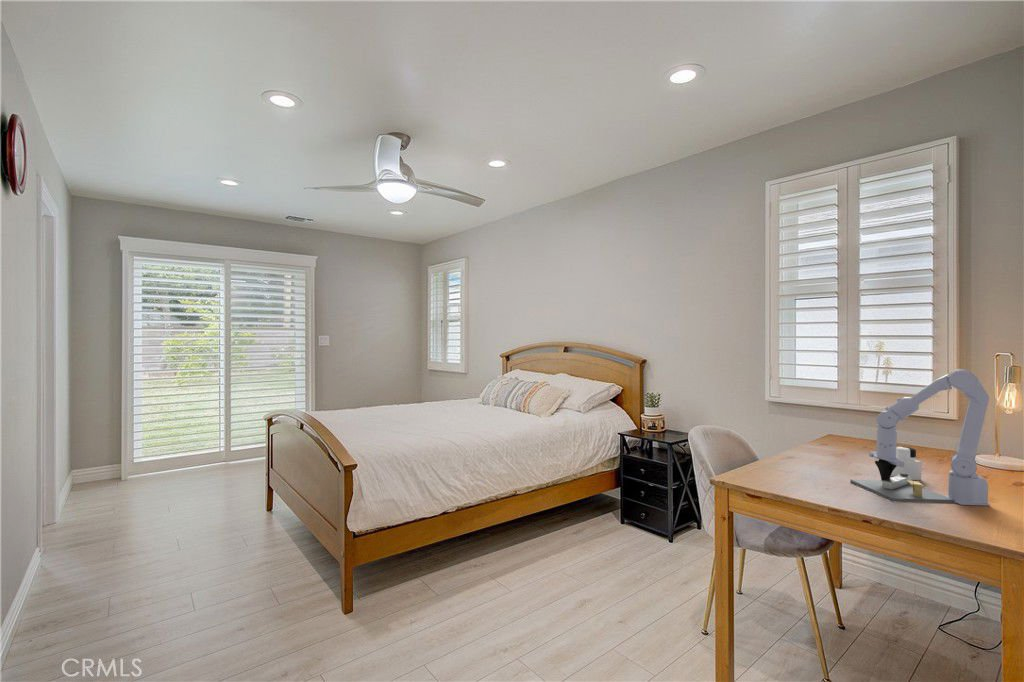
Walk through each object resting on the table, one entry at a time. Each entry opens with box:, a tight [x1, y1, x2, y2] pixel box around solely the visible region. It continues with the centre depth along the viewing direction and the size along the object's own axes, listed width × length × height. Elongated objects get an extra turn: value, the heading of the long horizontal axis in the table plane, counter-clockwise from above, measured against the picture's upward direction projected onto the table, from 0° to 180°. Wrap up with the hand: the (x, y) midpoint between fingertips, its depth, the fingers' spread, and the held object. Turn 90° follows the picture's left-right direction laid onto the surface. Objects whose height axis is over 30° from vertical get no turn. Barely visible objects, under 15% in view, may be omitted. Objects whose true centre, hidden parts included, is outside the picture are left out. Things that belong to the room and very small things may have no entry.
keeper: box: [907, 480, 924, 498], centre depth 166 cm, size 6×3×4 cm, turn 154°
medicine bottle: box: [890, 445, 923, 481], centre depth 189 cm, size 7×7×12 cm
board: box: [849, 473, 955, 504], centre depth 171 cm, size 20×21×5 cm
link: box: [882, 475, 911, 490], centre depth 175 cm, size 16×4×2 cm, turn 122°
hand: (885, 481), depth 176 cm, fingers closed
